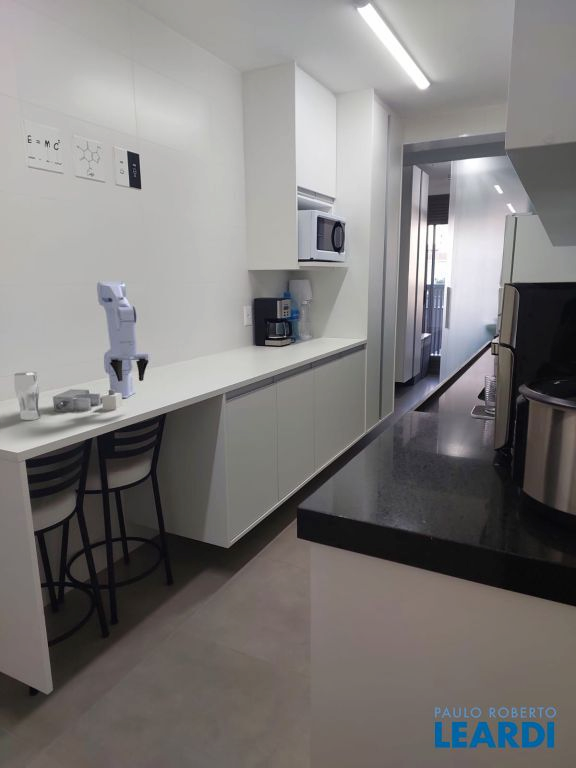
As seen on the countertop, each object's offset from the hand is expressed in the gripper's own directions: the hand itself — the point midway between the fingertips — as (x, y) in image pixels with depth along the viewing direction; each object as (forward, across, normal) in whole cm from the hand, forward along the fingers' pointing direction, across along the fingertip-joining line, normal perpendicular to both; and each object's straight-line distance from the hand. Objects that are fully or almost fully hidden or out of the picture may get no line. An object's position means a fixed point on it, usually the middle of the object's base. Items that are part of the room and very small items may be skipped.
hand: (130, 380), depth 177 cm
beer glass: (+10, -29, -15) cm, 34 cm away
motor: (+9, -20, -1) cm, 22 cm away
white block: (+10, -8, +1) cm, 13 cm away
